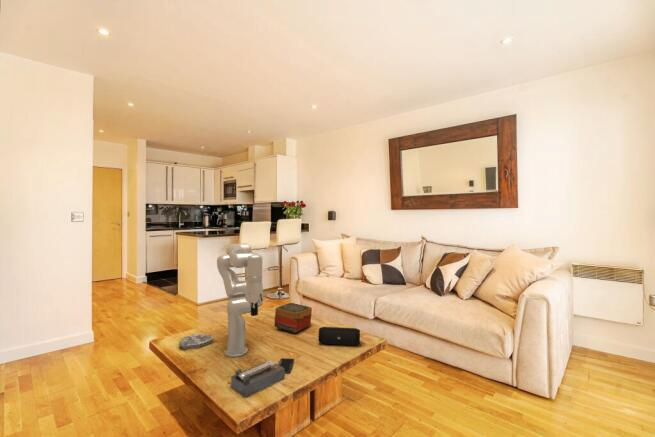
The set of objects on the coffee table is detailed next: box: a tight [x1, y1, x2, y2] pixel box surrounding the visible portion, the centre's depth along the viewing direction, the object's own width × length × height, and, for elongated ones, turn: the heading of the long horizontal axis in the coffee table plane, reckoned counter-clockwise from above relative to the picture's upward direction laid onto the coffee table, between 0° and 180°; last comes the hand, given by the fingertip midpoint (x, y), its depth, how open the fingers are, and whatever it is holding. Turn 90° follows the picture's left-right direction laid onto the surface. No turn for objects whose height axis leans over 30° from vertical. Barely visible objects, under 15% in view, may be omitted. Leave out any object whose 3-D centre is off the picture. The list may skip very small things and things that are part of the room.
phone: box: [278, 357, 295, 375], centre depth 162 cm, size 8×1×15 cm
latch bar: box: [237, 359, 277, 380], centre depth 145 cm, size 18×5×2 cm, turn 138°
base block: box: [230, 361, 286, 398], centre depth 146 cm, size 22×12×8 cm, turn 138°
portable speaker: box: [318, 326, 361, 346], centre depth 192 cm, size 26×10×10 cm, turn 85°
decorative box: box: [274, 302, 313, 334], centre depth 216 cm, size 20×22×16 cm
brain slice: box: [178, 333, 214, 350], centre depth 189 cm, size 20×17×3 cm
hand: (254, 315), depth 155 cm, fingers closed
